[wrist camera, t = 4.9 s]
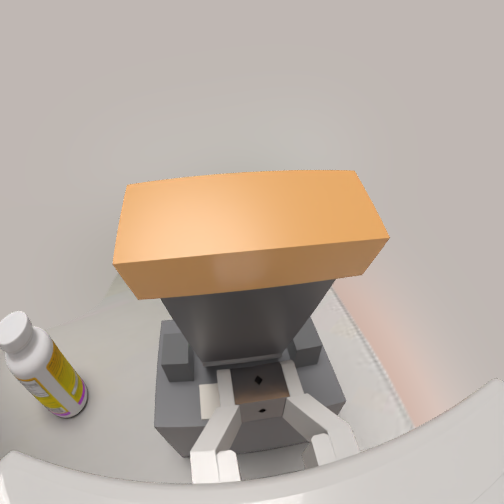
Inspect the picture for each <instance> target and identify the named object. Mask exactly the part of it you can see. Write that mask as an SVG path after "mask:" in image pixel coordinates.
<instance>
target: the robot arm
mask: <svg viewBox="0 0 504 504" xmlns="http://www.w3.org/2000/svg"><path fill="white" fill-rule="evenodd" d="M230 372H231V374H230ZM217 381H218V390H219V400H220V407H216V409H215V411H214V412H213V414H212V416H211V418H210V419H209V421H208V423H207V424H206V426H205V428H204V429H203V431H202V433H201V434H200V436H199V438H198V439H197V441H196V443H195V444H194V446H193V448H192V449H191V451H190V459H191V471H192V483H193V484H175V483H154V482H142V481H133V480H125V479H118V478H111V477H106V476H100V475H95V474H90V473H86V472H82V471H77V470H73V469H70V468H66V467H62V466H59V465H56V464H52V463H49V462H46V461H43V460H40V459H38V458H35V457H32V456H29V455H27V454H24V453H22V452H19V451H16V450H13V451H11V452H9V453H8V454H7V455H6V456H4V457H3V458H2V459H1V460H0V504H504V381H503V380H500V379H498V378H494V379H492V380H490V381H489V382H488V383H486V384H485V385H483V386H482V387H481V388H479V389H478V390H477V391H475V392H474V393H473V394H471V395H470V396H468V397H467V398H465V399H464V400H462V401H461V402H460V403H458V404H457V405H455V406H453V407H452V408H450V409H449V410H447V411H445V412H444V413H442V414H440V415H439V416H437V417H435V418H433V419H432V420H430V421H428V422H426V423H425V424H423V425H421V426H419V427H417V428H415V429H413V430H411V431H409V432H407V433H405V434H403V435H401V436H399V437H397V438H394V439H392V440H390V441H388V442H385V443H383V444H381V445H378V446H376V447H373V448H371V449H368V450H366V451H363V452H360V450H359V447H358V444H357V442H356V439H355V436H354V434H353V431H352V429H351V426H350V424H348V423H347V422H345V421H344V420H343V419H341V418H340V417H339V416H337V415H336V414H334V413H333V412H332V411H330V410H329V409H328V408H326V407H325V406H324V405H322V404H321V403H320V402H318V401H317V400H316V399H315V398H313V397H312V396H311V395H309V394H308V393H306V394H304V392H303V389H302V386H301V383H300V379H299V376H298V373H297V370H296V367H295V364H294V362H293V361H292V360H287V361H282V362H274V363H269V364H262V365H256V366H250V367H242V368H233V369H222V370H217ZM280 416H283V418H284V419H285V420H286V421H287V422H288V423H289V424H290V425H291V426H292V427H293V428H294V429H295V430H296V431H298V432H299V433H300V434H301V435H302V436H303V437H304V438H305V439H306V440H307V441H308V442H309V444H308V445H307V447H306V449H305V450H304V452H303V453H302V459H303V462H304V466H305V470H301V471H296V472H292V473H287V474H282V475H277V476H271V477H265V478H258V479H251V480H243V481H242V478H241V473H240V468H239V464H238V460H237V456H236V453H235V452H233V451H232V450H229V449H230V447H231V445H232V443H233V441H234V439H235V437H236V435H237V433H238V430H239V428H240V426H241V424H242V422H247V421H254V420H260V419H267V418H273V417H280Z"/></svg>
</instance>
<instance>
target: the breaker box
mask: <svg viewBox="0 0 504 504" xmlns="http://www.w3.org/2000/svg"><path fill="white" fill-rule="evenodd" d="M287 360H292V361H293V362H294V364H295V367H296V370H297V373H298V376H299V379H300V383H301V386H302V389H303V392H304V394H306V393H308V394H309V395H311V396H312V397H313V398H315V399H316V400H317V401H318V402H320V403H321V404H322V405H324V406H325V407H326V408H328V409H329V410H330V411H332V412H333V413H334V414H336V415H338V414H339V412H340V410H341V409H342V407H343V405H344V404H345V402H346V399H345V397H344V394H343V392H342V389H341V387H340V385H339V382H338V380H337V377H336V375H335V373H334V370H333V368H332V366H331V363H330V361H329V358H328V356H327V354H326V351H325V349H324V347H323V344H322V342H321V340H320V338H319V335H318V333H317V331H316V328H315V326H314V324H313V322H312V319H311V317H309V318H308V320H307V321H306V323H305V324H304V325H303V327H302V328H301V329H300V331H299V332H298V333H297V335H296V336H295V337H294V339H293V340H292V341H291V343H290V344H289V345H288V347H287V348H286V349H285V350H284V352H283V353H282V357H280V358H274V359H267V360H260V361H253V362H245V363H237V364H228V365H218V366H207V367H203V364H202V362H201V361H200V359H199V358H198V356H197V355H196V353H195V352H194V350H193V349H192V347H191V346H190V344H189V343H188V341H187V340H186V338H185V337H184V335H183V334H182V332H181V331H180V329H179V328H178V326H177V325H176V323H175V321H174V320H165V321H162V322H161V331H160V341H159V351H158V363H157V376H156V393H155V418H154V427H155V428H156V429H157V431H158V432H159V433H160V434H161V435H162V436H163V437H164V438H165V439H166V441H167V442H168V443H169V444H170V445H171V446H172V447H173V448H174V449H175V450H176V451H177V452H178V453H179V454H180V455H181V456H182V457H190V451H191V449H192V448H193V446H194V444H195V443H196V441H197V439H198V438H199V436H200V434H201V433H202V431H203V429H204V428H205V426H206V424H207V423H208V421H209V419H210V418H211V416H212V414H213V412H214V411H215V409H216V407H220V400H219V390H218V381H217V370H222V369H233V368H242V367H250V366H256V365H262V364H269V363H274V362H282V361H287ZM230 374H231V372H230ZM304 442H308V441H307V440H306V439H305V438H304V437H303V436H302V435H301V434H300V433H299V432H298V431H296V430H295V429H294V428H293V427H292V426H291V425H290V424H289V423H288V422H287V421H286V420H285V419H284V418H283V416H280V417H273V418H267V419H260V420H254V421H247V422H242V424H241V426H240V428H239V430H238V433H237V435H236V437H235V439H234V441H233V443H232V445H231V447H230V449H229V450H232V451H233V452H235V453H236V454H240V453H249V452H256V451H263V450H269V449H275V448H280V447H285V446H290V445H295V444H299V443H304Z"/></svg>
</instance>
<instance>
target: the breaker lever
mask: <svg viewBox="0 0 504 504" xmlns="http://www.w3.org/2000/svg"><path fill="white" fill-rule="evenodd" d="M389 238H390V237H389V235H388V233H387V231H386V229H385V227H384V225H383V222H382V220H381V218H380V217H379V215H378V213H377V211H376V209H375V207H374V205H373V203H372V201H371V199H370V198H369V196H368V194H367V192H366V190H365V188H364V187H363V185H362V183H361V181H360V180H359V178H358V176H357V174H356V173H355V171H347V170H289V171H261V172H242V173H227V174H216V175H215V174H214V175H204V176H193V177H184V178H175V179H166V180H158V181H151V182H143V183H136V184H130V185H127V188H126V192H125V196H124V201H123V206H122V211H121V215H120V221H119V227H118V232H117V238H116V244H115V250H114V258H113V265H114V267H115V268H116V270H117V271H118V273H119V274H120V275H121V277H122V278H123V280H124V281H125V283H126V284H127V285H128V287H129V288H130V289H131V291H132V292H133V293H134V295H135V296H136V297H137V299H138V300H142V299H156V298H160V299H161V300H162V302H163V304H164V305H165V307H166V309H167V310H168V312H169V313H170V315H171V317H172V318H173V320H174V321H175V323H176V325H177V326H178V328H179V329H180V331H181V332H182V334H183V335H184V337H185V338H186V340H187V341H188V343H189V344H190V346H191V347H192V349H193V350H194V352H195V353H196V355H197V356H198V358H199V359H200V361H201V362H202V364H203V367H207V366H218V365H228V364H237V363H245V362H253V361H260V360H267V359H274V358H280V357H282V353H283V352H284V350H285V349H286V348H287V347H288V345H289V344H290V343H291V341H292V340H293V339H294V337H295V336H296V335H297V333H298V332H299V331H300V329H301V328H302V327H303V325H304V324H305V323H306V321H307V320H308V318H309V317H310V316H311V314H312V313H313V311H314V310H315V309H316V307H317V306H318V304H319V303H320V302H321V300H322V299H323V297H324V296H325V294H326V293H327V291H328V290H329V289H330V287H331V286H332V284H333V282H334V281H335V280H336V279H338V278H344V277H352V276H358V275H362V274H363V273H364V272H365V270H366V269H367V268H368V267H369V265H370V264H371V263H372V261H373V260H374V258H375V257H376V256H377V255H378V253H379V252H380V251H381V249H382V248H383V247H384V245H385V243H386V242H387V241H388V240H389Z"/></svg>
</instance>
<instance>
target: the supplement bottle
mask: <svg viewBox="0 0 504 504" xmlns="http://www.w3.org/2000/svg"><path fill="white" fill-rule="evenodd" d="M0 347H1V349H2V350H3V351H5V360H6V364H7V366H8V368H9V370H10V371H11V373H12V374H13V375H14V376H15V377H16V378H17V379H18V380H19V381H20V383H21V384H22V385H23V386H24V387H25V388H26V389H27V390H28V391H29V392H30V393H31V394H32V395H33V396H34V397H35V398H36V399H37V400H39V401H40V402H41V403H42V404H43V405H44V406H45V407H46V408H47V409H48V410H49V411H51V412H52V413H53V414H55V415H57V416H59V417H63V418H67V417H72V416H74V415H76V414H77V413H79V412H80V411H81V410H82V408H83V407H84V405H85V403H86V400H87V388H86V385H85V383H84V381H83V380H82V379H81V378H80V376H79V375H78V374H77V372H76V371H75V370H74V369H73V367H72V366H71V365H70V364H69V362H68V361H67V360H66V358H65V357H64V356H63V354H62V353H61V352H60V350H59V349H58V347H57V346H56V345H55V343H54V342H53V340H52V339H51V337H50V336H49V335H48V333H47V332H46V331H45V330H43V329H42V328H40V327H36V326H32V323H31V321H30V320H29V318H28V317H27V315H26V314H25V313H24V312H21V311H16V312H12V313H10V314H9V315H7V316H6V317H5V318H3V319H2V321H1V322H0Z"/></svg>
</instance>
